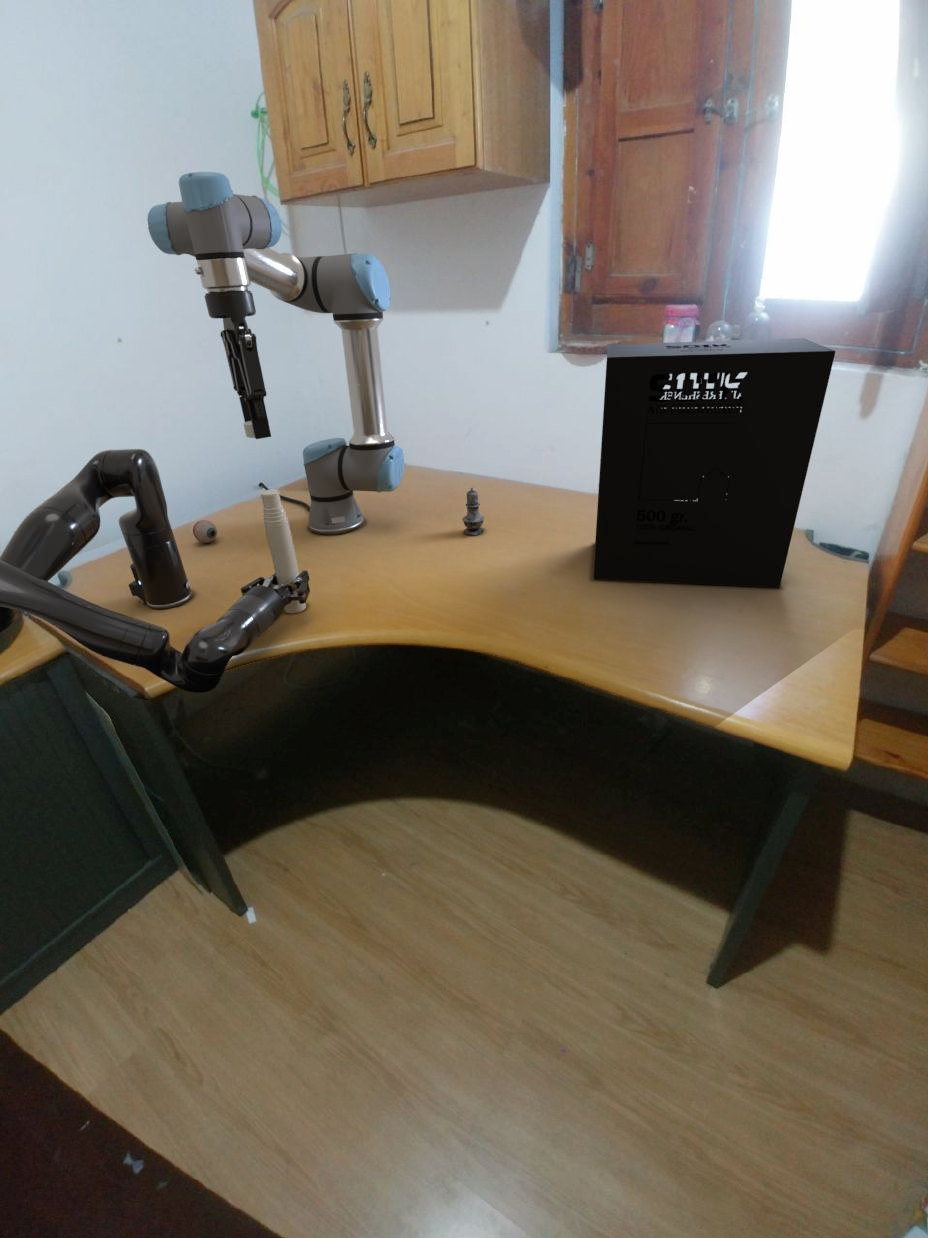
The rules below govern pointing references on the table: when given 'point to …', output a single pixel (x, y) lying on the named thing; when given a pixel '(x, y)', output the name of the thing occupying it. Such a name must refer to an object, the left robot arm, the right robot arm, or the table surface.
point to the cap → (251, 429)
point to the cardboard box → (706, 459)
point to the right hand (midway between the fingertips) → (259, 434)
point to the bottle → (280, 543)
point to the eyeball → (205, 531)
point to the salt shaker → (473, 515)
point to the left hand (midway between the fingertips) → (294, 574)
